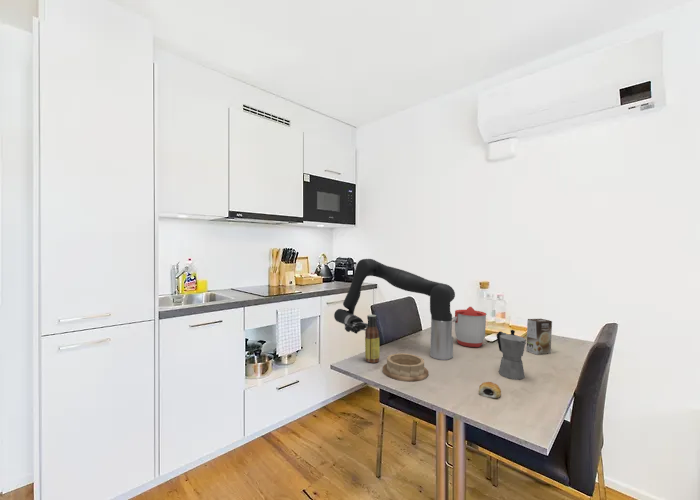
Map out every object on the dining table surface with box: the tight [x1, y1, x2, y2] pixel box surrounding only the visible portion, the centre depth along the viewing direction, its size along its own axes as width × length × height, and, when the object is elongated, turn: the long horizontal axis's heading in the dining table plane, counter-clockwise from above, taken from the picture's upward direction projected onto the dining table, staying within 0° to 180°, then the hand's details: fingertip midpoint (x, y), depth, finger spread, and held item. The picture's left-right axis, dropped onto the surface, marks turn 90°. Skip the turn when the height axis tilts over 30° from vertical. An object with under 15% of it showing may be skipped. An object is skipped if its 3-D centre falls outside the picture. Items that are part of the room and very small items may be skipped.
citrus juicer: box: [452, 306, 487, 348], centre depth 167 cm, size 16×17×20 cm
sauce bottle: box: [364, 314, 381, 364], centre depth 138 cm, size 6×6×20 cm
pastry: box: [477, 381, 502, 399], centre depth 110 cm, size 9×7×4 cm
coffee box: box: [525, 318, 553, 356], centre depth 156 cm, size 9×6×16 cm
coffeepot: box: [496, 329, 527, 381], centre depth 127 cm, size 15×9×18 cm, turn 13°
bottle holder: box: [382, 352, 429, 382], centre depth 126 cm, size 18×18×5 cm
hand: (365, 330), depth 146 cm, fingers open, 8 cm apart
